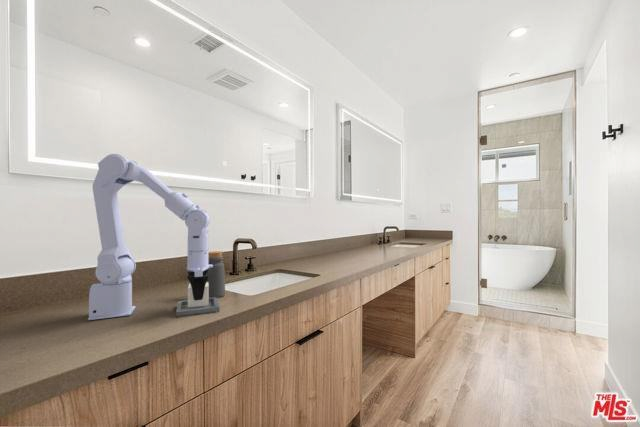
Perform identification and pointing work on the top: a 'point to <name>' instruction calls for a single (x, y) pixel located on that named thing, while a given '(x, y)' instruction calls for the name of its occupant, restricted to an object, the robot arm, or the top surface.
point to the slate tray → (196, 308)
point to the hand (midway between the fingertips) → (198, 297)
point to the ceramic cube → (198, 302)
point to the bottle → (216, 274)
